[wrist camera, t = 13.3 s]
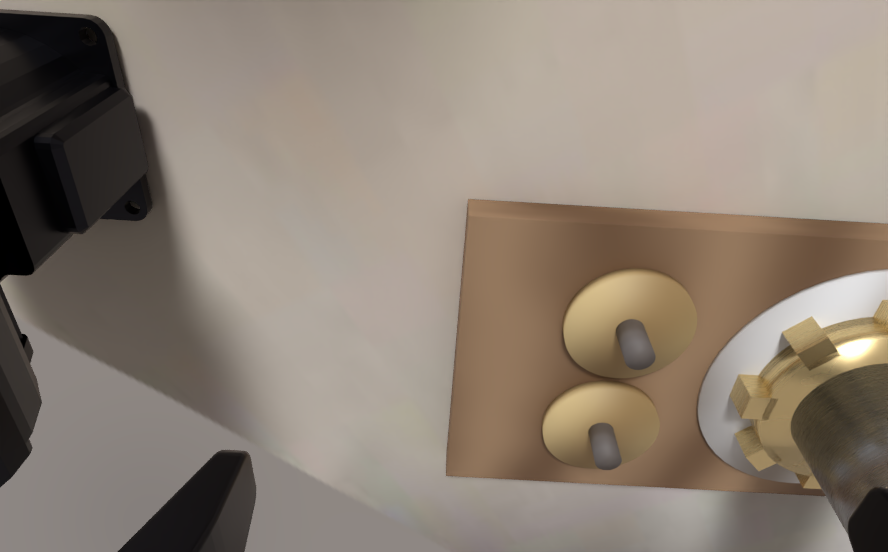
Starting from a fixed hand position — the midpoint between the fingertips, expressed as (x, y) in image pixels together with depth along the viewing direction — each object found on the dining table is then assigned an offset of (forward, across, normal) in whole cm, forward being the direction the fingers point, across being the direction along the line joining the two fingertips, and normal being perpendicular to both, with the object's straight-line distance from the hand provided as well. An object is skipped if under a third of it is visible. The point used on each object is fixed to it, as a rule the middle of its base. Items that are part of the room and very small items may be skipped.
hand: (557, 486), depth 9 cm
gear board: (+13, -10, +8) cm, 18 cm away
